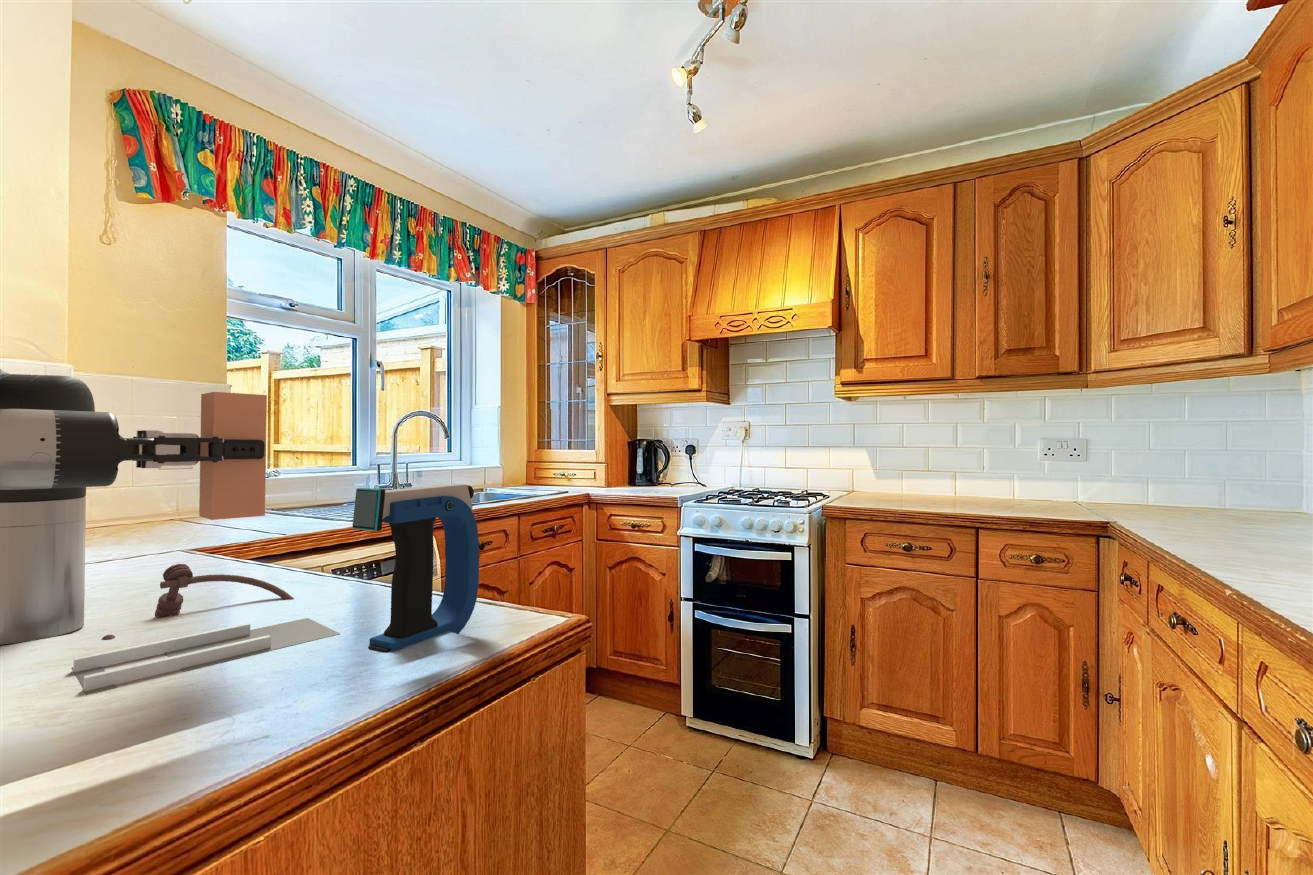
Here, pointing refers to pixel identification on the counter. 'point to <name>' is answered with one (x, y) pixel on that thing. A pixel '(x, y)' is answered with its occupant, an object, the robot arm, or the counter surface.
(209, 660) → the channel
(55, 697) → the counter surface
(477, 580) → the handheld scanner
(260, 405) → the terracotta block
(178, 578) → the toilet paper hanger
